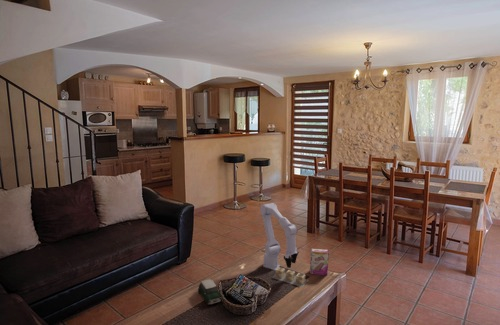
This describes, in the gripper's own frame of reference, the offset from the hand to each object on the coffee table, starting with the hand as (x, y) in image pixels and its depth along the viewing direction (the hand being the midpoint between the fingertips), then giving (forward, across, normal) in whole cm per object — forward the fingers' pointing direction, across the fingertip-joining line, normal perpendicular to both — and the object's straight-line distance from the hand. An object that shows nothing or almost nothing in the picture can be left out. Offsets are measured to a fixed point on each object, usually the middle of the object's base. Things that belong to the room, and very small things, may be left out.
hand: (291, 265), depth 197 cm
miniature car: (+10, -42, +33) cm, 54 cm away
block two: (+10, 0, -6) cm, 11 cm away
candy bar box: (+10, +17, -12) cm, 23 cm away
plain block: (+9, 0, +1) cm, 9 cm away
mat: (+10, 0, +1) cm, 10 cm away
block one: (+9, 0, +8) cm, 12 cm away
